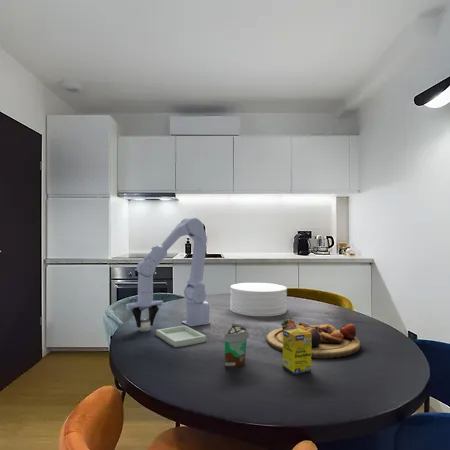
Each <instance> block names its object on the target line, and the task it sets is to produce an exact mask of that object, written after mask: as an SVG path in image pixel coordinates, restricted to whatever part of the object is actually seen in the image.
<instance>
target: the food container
mask: <svg viewBox="0 0 450 450" xmlns="http://www.w3.org/2000/svg"><path fill="white" fill-rule="evenodd" d="M249 338H250V334H249V329H248V328H247V326H245V325H242V324H239V323H231V328H229V330H228V331H227V333H224V340H223V341H224V369H236V368H240V367H243V366H244V365H245V363H246V352H247V342H248V341H247V339H249Z"/></svg>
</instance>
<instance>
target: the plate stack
mask: <svg viewBox="0 0 450 450" xmlns="http://www.w3.org/2000/svg"><path fill="white" fill-rule="evenodd" d="M287 291H288V287H287V286H285V285H282V284H277V283H270V282H240V283H239V282H238V283H235V284H231V285H230V291H229V292H230V297H229V299H230V301H229V303H230V304H229V305H230V306H229V309H230V311H231V312H233V313H234V314H238V315H244V316H249V317H250V316H251V317H274V316H280V315H283V314H285V313H287V312H288V309H287V305H288V303H287V301H288V298H287V297H288V296H287V295H288V292H287Z"/></svg>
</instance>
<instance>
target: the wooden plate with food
mask: <svg viewBox="0 0 450 450" xmlns="http://www.w3.org/2000/svg"><path fill="white" fill-rule="evenodd" d="M280 325H281V327H280V328H276V329H273V330H272V331H270V332H269V333H268V334H267V335H266V338H265V339H266V343H267V345H269V346H270V347H271V348H272V349H274V350H276V351H278V350H279V352H281V351H282V352H281V353H283V330H290V329H298V328H301V329H303V330H305V331H308V332H310V333H312V349H311V357H312V358H313V359H334V358H333V357H337V358H342V356H343V357H348V356H351V355H353V353H354V354H356V353H357V352H359V350H360V349H361V346H362V345H361V344H362V343H361V341H360V340H359V338H358V337H356V334H357V331H356V330H357V329H356V326H355V325H354V324H353V323H347V324H344V325H342V326H341V327H339V329H336V327H335V326H334V325H331V324H319V325H310V324H308V323H307V324H306V323H304V322H301V321H300V322H299V323H298V324H297V325H296V323H295V321H294V319H293V318H292V317H291V318H288V319H287V318H286V319H283V322H282V323H281V324H280ZM347 355H348V356H347ZM312 358H311V359H312Z"/></svg>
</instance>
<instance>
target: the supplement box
mask: <svg viewBox="0 0 450 450" xmlns="http://www.w3.org/2000/svg"><path fill="white" fill-rule="evenodd" d="M311 349H312V333H310V332H308V331H305V330H303V329H301V328H298V329H290V330H283V352H282V369H284V370H285V371H287V372H288V373H290V374H292V375H293V376H296V375H301V374H307V372H309V373H312V358H311Z"/></svg>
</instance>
